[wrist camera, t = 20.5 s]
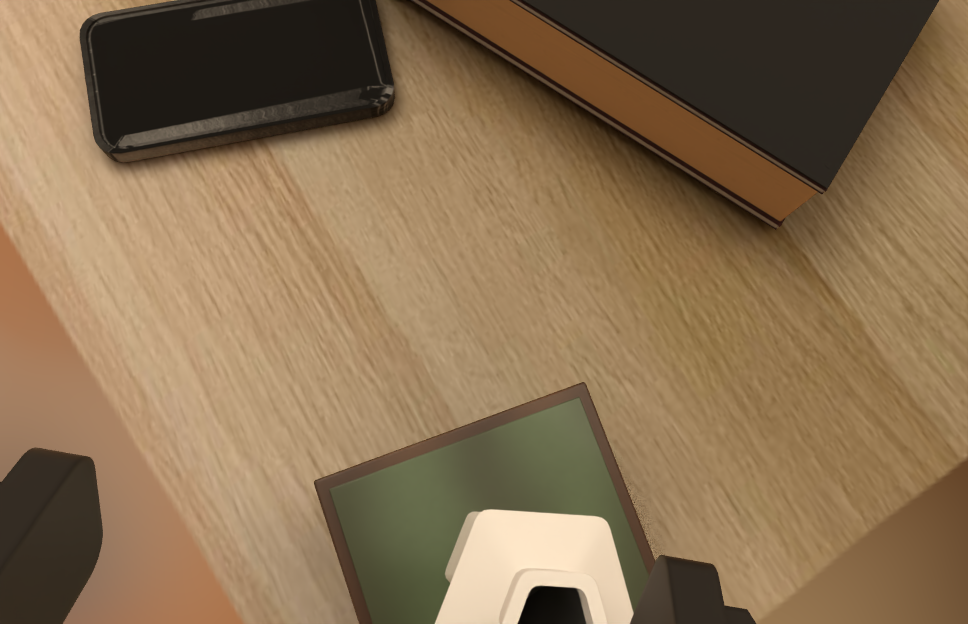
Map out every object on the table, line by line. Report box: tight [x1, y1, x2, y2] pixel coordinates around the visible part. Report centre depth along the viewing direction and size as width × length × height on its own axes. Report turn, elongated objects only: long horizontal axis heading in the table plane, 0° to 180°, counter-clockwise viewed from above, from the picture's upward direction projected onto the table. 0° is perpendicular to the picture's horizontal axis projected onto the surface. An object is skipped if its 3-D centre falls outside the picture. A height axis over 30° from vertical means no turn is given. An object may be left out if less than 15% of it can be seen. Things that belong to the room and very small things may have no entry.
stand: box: [314, 382, 655, 624], centre depth 35 cm, size 11×10×9 cm
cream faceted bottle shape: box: [435, 509, 634, 624], centre depth 23 cm, size 5×4×15 cm
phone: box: [80, 0, 395, 162], centre depth 43 cm, size 8×1×15 cm
